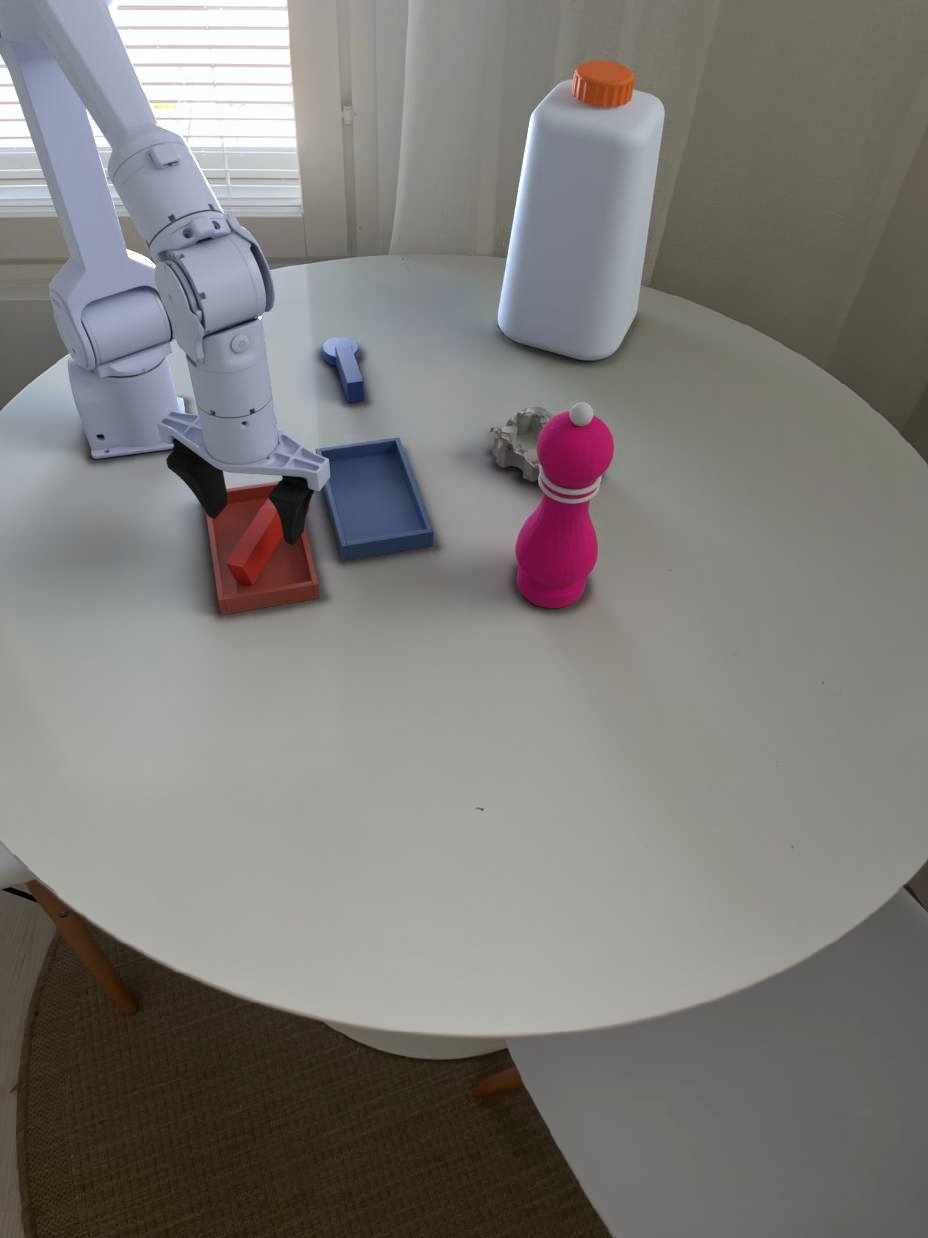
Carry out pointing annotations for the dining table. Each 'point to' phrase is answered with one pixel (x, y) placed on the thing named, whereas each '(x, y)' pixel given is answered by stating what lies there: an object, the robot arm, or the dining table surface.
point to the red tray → (284, 571)
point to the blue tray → (374, 499)
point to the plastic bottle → (582, 214)
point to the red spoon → (256, 545)
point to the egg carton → (521, 441)
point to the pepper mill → (564, 509)
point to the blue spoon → (346, 365)
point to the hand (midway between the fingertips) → (256, 523)
